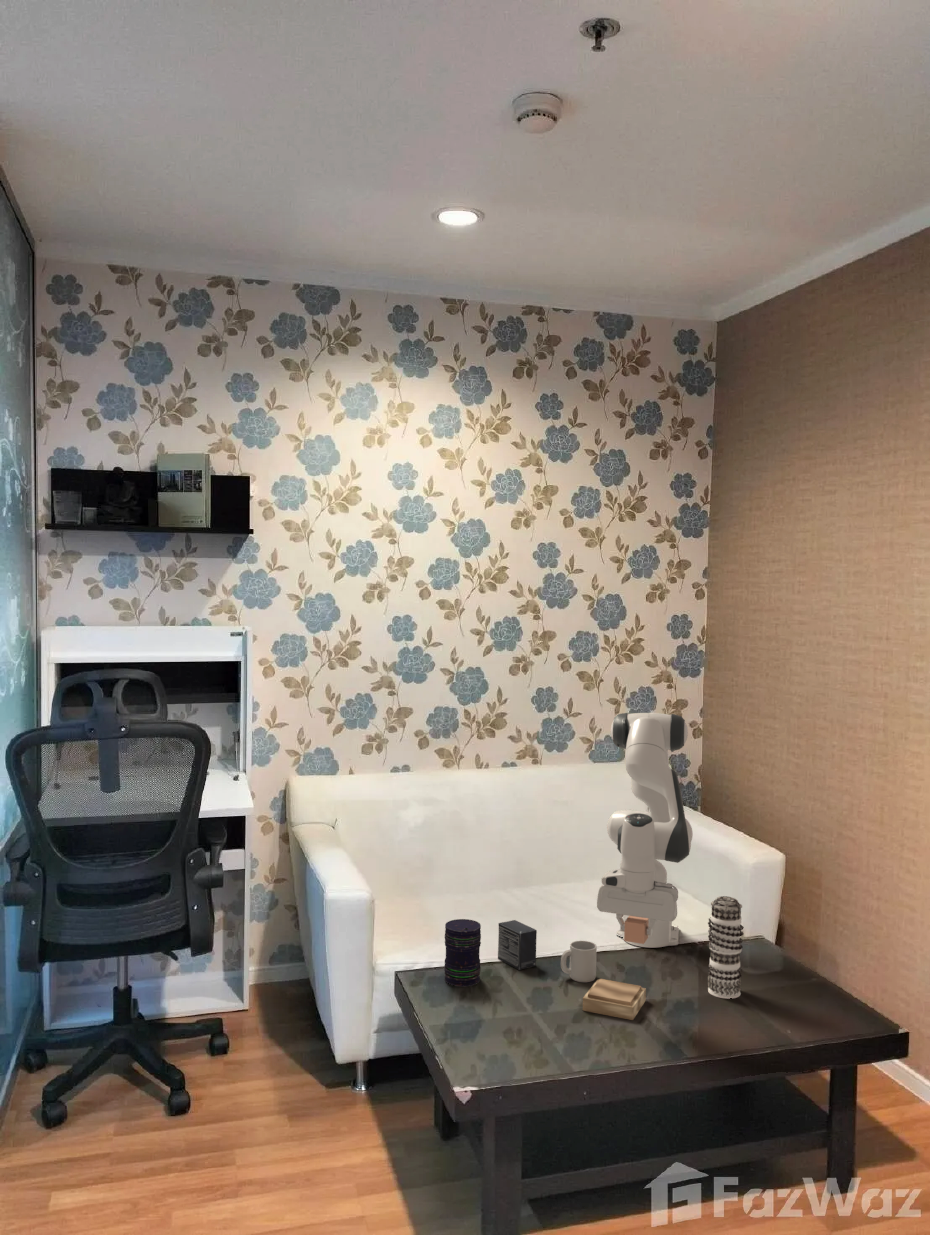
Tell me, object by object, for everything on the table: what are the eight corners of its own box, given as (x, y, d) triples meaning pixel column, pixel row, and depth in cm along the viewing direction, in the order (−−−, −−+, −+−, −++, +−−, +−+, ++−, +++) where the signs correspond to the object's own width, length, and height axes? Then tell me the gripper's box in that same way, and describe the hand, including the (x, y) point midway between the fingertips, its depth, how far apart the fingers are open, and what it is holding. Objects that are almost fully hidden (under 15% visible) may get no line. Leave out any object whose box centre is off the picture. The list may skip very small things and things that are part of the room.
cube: (629, 934, 260) (629, 915, 260) (648, 937, 258) (648, 918, 258) (624, 941, 255) (624, 921, 255) (643, 944, 253) (644, 924, 253)
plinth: (597, 991, 267) (597, 976, 266) (645, 1000, 261) (646, 985, 261) (582, 1010, 255) (582, 994, 255) (632, 1020, 249) (633, 1004, 249)
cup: (599, 981, 273) (600, 949, 273) (564, 984, 271) (564, 951, 271) (591, 971, 280) (591, 940, 280) (556, 973, 278) (557, 942, 278)
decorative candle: (699, 992, 267) (702, 899, 266) (717, 982, 274) (719, 891, 273) (731, 1002, 261) (733, 907, 260) (748, 992, 268) (750, 899, 267)
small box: (537, 966, 284) (538, 929, 283) (519, 971, 280) (519, 933, 279) (514, 954, 292) (515, 918, 292) (496, 958, 289) (497, 922, 288)
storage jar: (439, 974, 277) (440, 920, 276) (473, 970, 280) (474, 917, 279) (450, 988, 267) (451, 933, 266) (485, 984, 270) (486, 929, 270)
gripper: (680, 881, 255) (679, 935, 255) (602, 870, 263) (601, 923, 263) (675, 888, 249) (674, 943, 249) (595, 877, 257) (594, 930, 257)
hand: (636, 932), depth 256 cm, fingers closed on cube, 5 cm apart
